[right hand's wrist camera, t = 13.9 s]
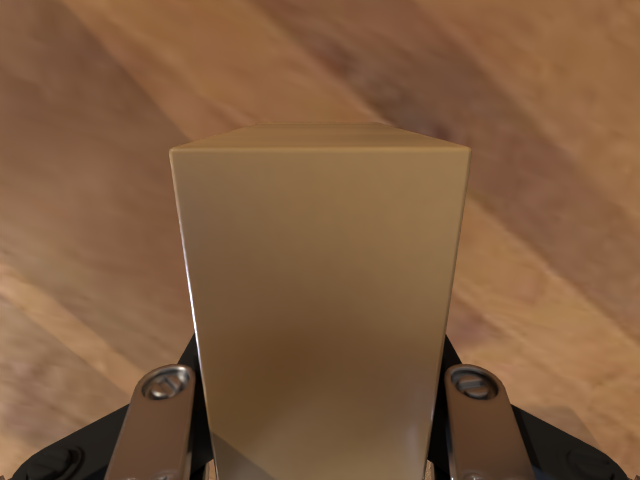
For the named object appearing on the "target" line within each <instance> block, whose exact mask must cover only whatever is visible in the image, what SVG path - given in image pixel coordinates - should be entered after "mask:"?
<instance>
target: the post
mask: <svg viewBox="0 0 640 480" xmlns="http://www.w3.org/2000/svg"><path fill="white" fill-rule="evenodd" d="M471 156H472V151H471V148H469V147H466V146H463V145H459V144H455V143H452V142H448V141H444V140H440V139H437V138H433V137H429V136H425V135H422V134H418V133H414V132H410V131H407V130H403V129H399V128H395V127H392V126H388V125H384V124H380V123H259V124H255V125H252V126H248V127H244V128H241V129H237V130H233V131H230V132H226V133H222V134H219V135H215V136H212V137H208V138H204V139H201V140H197V141H193V142H190V143H186V144H182V145H179V146H175V147H173V148H171V149H170V151H169V157H170V164H171V171H172V177H173V184H174V191H175V198H176V205H177V212H178V219H179V225H180V232H181V239H182V246H183V253H184V260H185V266H186V273H187V280H188V287H189V294H190V301H191V308H192V314H193V321H194V328H195V335H196V342H197V349H198V356H199V362H200V369H201V376H202V383H203V390H204V397H205V404H206V410H207V417H208V424H209V431H210V438H211V445H212V451H213V458H214V465H215V472H216V479H217V480H424V478H425V471H426V464H427V457H428V451H429V444H430V437H431V430H432V423H433V416H434V410H435V403H436V396H437V389H438V382H439V375H440V368H441V362H442V355H443V348H444V341H445V334H446V327H447V321H448V314H449V307H450V300H451V293H452V286H453V279H454V273H455V266H456V259H457V252H458V245H459V238H460V232H461V225H462V218H463V211H464V204H465V197H466V190H467V184H468V177H469V170H470V163H471Z"/></svg>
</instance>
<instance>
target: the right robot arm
mask: <svg viewBox="0 0 640 480" xmlns="http://www.w3.org/2000/svg"><path fill="white" fill-rule="evenodd" d="M212 459H213V451H212V445H211V438H210V431H209V424H208V417H207V410H206V404H205V397H204V390H203V383H202V376H201V369H200V362H199V356H198V349H197V342H196V335H195V333H194V335H193V336H192V338H191V340H190V342H189V344H188V345H187V347H186V349H185V351H184V353H183V354H182V356H181V358H180V360H179V362H178V364H170V365H165V366H161V367H159V368H157V369H154V370H152V371H151V372H149V373H148V374H146V375H145V376H144V377H143V378H142V379H141V380H140V381H139V382H138V384H137V385H136V387H135V390H134V393H133V395H132V398H131V401H130V404H128V405H126V406H124V407H122V408H120V409H118V410H116V411H114V412H113V413H111V414H109V415H107V416H105V417H103V418H101V419H99V420H97V421H95V422H93V423H91V424H90V425H88V426H86V427H84V428H82V429H80V430H78V431H76V432H74V433H72V434H70V435H68V436H67V437H65V438H63V439H61V440H59V441H57V442H55V443H53V444H51V445H49V446H47V447H45V448H44V449H42V450H41V451H39V452H37V453H36V454H34V455H33V456H31V457H30V458H29V459H28V460H27V461H25V462H24V463H23V464H22V465H21V466H20V467H19V469H18V470H17V471H16V472H15V473H14V475H13V477H12V478H10V479H8V480H209V461H211V460H212ZM427 459H428V460H429V461H430V462H431V480H632V479H630V478H628V477H627V475H626V474H625V473H624V471H623V470H622V469H621V468H620V467H619V465H618V464H617V463H615V462H614V461H613V460H612V459H611V458H610V457H608V456H607V455H606V454H604V453H602V452H601V451H599V450H598V449H596V448H594V447H592V446H590V445H589V444H587V443H585V442H583V441H581V440H579V439H577V438H575V437H573V436H571V435H569V434H567V433H566V432H564V431H562V430H560V429H558V428H556V427H554V426H552V425H550V424H548V423H546V422H544V421H542V420H541V419H539V418H537V417H535V416H533V415H531V414H529V413H527V412H525V411H523V410H521V409H519V408H518V407H516V406H514V405H512V404H510V401H509V398H508V395H507V393H506V390H505V387H504V385H503V384H502V382H501V381H500V380H499V379H498V378H497V377H496V376H495V375H494V374H492V373H491V372H489V371H488V370H486V369H483V368H481V367H479V366H475V365H470V364H462V362H461V361H460V359H459V357H458V355H457V353H456V352H455V350H454V348H453V346H452V344H451V342H450V341H449V339H448V337H447V335H446V334H445V341H444V348H443V355H442V362H441V368H440V375H439V382H438V389H437V396H436V403H435V410H434V416H433V423H432V430H431V437H430V444H429V451H428V457H427ZM0 480H5V478H4V476H3V475H2V476H0ZM634 480H640V476H638V475H636V477H635V479H634Z"/></svg>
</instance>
